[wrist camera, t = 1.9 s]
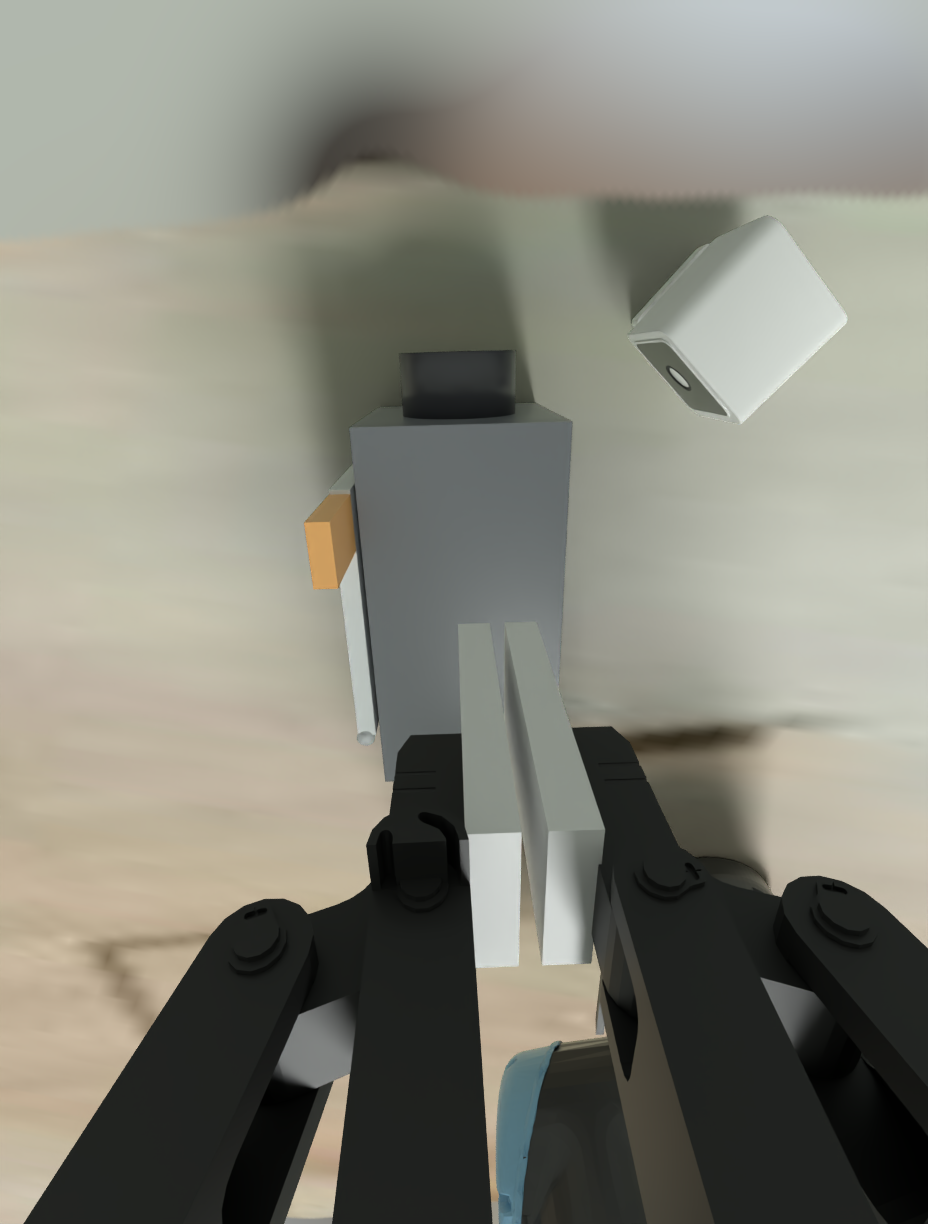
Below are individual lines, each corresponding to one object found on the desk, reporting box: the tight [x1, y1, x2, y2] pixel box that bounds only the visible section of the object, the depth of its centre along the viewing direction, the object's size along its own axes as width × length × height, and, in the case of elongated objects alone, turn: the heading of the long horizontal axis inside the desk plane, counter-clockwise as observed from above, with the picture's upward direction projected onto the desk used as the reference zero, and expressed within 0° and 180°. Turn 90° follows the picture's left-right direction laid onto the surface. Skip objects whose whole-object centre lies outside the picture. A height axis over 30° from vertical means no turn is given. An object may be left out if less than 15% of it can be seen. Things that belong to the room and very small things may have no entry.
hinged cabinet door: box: [304, 464, 379, 745], centre depth 32 cm, size 15×1×16 cm, turn 1°
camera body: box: [349, 350, 572, 782], centre depth 34 cm, size 23×10×12 cm, turn 1°
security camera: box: [628, 215, 848, 425], centre depth 30 cm, size 6×7×10 cm
